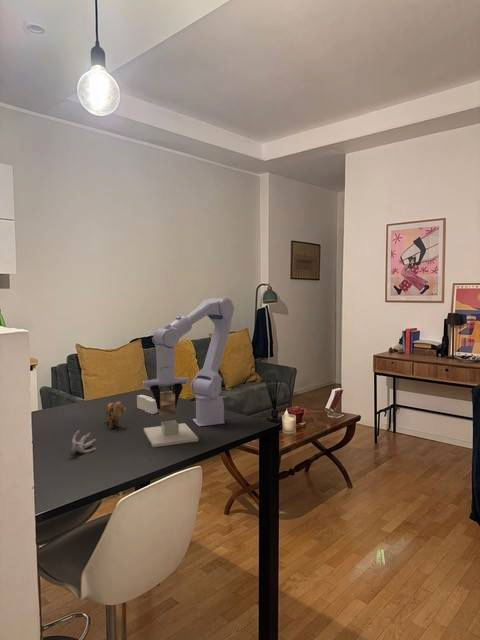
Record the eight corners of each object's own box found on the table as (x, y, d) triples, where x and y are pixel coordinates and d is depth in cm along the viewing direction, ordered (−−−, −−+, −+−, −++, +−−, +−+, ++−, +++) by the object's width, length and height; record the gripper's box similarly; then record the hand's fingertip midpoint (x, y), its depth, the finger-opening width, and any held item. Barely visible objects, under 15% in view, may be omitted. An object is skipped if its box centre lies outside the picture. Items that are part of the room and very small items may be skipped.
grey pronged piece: (103, 446, 140) (93, 448, 128) (90, 458, 139) (79, 461, 127) (86, 428, 141) (74, 428, 129) (73, 439, 140) (61, 440, 128)
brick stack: (172, 410, 149) (171, 390, 149) (175, 413, 145) (174, 394, 144) (158, 411, 148) (157, 392, 147) (160, 415, 143) (160, 395, 143)
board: (184, 426, 156) (184, 414, 155) (198, 441, 141) (198, 427, 141) (143, 431, 151) (143, 418, 150) (153, 447, 136) (152, 433, 135)
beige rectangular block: (132, 407, 181) (132, 393, 181) (161, 406, 183) (161, 392, 183) (129, 418, 166) (129, 403, 166) (161, 417, 168) (161, 401, 168)
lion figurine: (128, 427, 154) (127, 401, 154) (112, 430, 151) (112, 404, 151) (113, 417, 166) (112, 393, 166) (98, 420, 163) (97, 395, 163)
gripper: (184, 362, 151) (185, 402, 152) (140, 365, 146) (141, 406, 147) (190, 365, 145) (191, 407, 146) (144, 369, 139) (145, 412, 141)
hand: (166, 407), depth 146 cm, fingers closed on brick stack, 5 cm apart
